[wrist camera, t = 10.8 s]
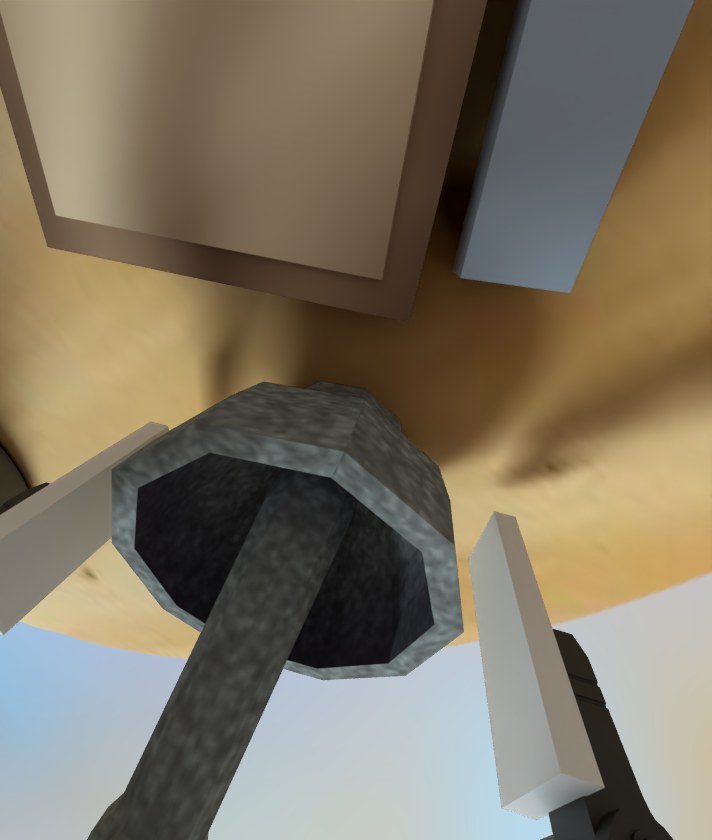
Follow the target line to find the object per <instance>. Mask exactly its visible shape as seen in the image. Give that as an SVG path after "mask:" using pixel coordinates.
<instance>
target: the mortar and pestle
mask: <svg viewBox="0 0 712 840" xmlns="http://www.w3.org/2000/svg"><path fill="white" fill-rule="evenodd" d="M112 544H113V545H114V546H115V548H116V549H117V550H118V551H119V553H120V554H121V555H122V557H123V558H124V559H125V560H126V562H127V563H128V564H129V566H130V567H131V568H132V569H133V571H134V572H135V573H136V575H137V576H138V577H139V578H140V580H141V581H142V582H143V584H144V585H145V586H146V587H147V589H148V590H149V591H150V593H151V594H152V595H153V597H154V598H155V599H156V600H157V602H158V603H159V604H160V606H161V607H162V608H163V609H164V610H166V611H167V612H169V613H171V614H172V615H174V616H175V617H177V618H179V619H180V620H182V621H183V622H185V623H187V624H188V625H190V626H191V627H193V628H195V629H196V630H198V631H199V632H201V633H200V636H199V638H198V640H197V642H196V644H195V646H194V648H193V650H192V652H191V654H190V656H189V658H188V661H187V663H186V665H185V667H184V669H183V671H182V673H181V675H180V677H179V679H178V682H177V684H176V686H175V688H174V690H173V692H172V694H171V696H170V698H169V700H168V702H167V705H166V706H165V709H164V711H163V713H162V715H161V717H160V719H159V721H158V723H157V725H156V727H155V729H154V732H153V734H152V736H151V738H150V740H149V742H148V744H147V746H146V748H145V750H144V752H143V755H142V757H141V759H140V761H139V763H138V765H137V767H136V769H135V771H134V773H133V776H132V777H131V779H130V782H129V784H128V786H127V788H126V790H125V792H124V793H123V794H122V795H121V796H120V797H119V798H118V799H117V800H116V801H114V802H113V803H112V804H111V805H110V806H109V807H108V808H107V810H106V811H105V813H104V814H103V816H102V817H101V818H100V820H99V821H98V823H97V824H96V826H95V827H94V829H93V830H92V831H91V833H90V835H89V837H88V839H87V840H208V831H209V829H210V827H211V825H212V823H213V820H214V818H215V816H216V814H217V812H218V809H219V807H220V805H221V803H222V800H223V799H224V796H225V794H226V792H227V790H228V788H229V785H230V783H231V781H232V779H233V777H234V775H235V772H236V770H237V768H238V766H239V764H240V761H241V759H242V757H243V755H244V753H245V751H246V748H247V746H248V744H249V742H250V740H251V737H252V735H253V733H254V731H255V729H256V726H257V724H258V722H259V720H260V718H261V716H262V713H263V711H264V709H265V707H266V705H267V702H268V700H269V698H270V696H271V694H272V691H273V689H274V687H275V685H276V683H277V681H278V679H279V676H280V674H281V672H282V670H283V669H286V670H289V671H293V672H296V673H300V674H304V675H307V676H311V677H314V678H317V679H321V680H332V679H351V678H371V677H390V676H406V675H407V674H408V673H410V672H411V671H412V670H414V669H415V668H416V667H418V666H419V665H420V664H422V663H423V662H424V661H426V660H427V659H428V658H430V657H431V656H432V655H434V654H435V653H436V652H438V651H439V650H440V649H442V648H443V647H444V646H446V645H447V644H449V643H450V642H451V641H453V640H454V639H455V638H457V637H458V636H459V635H461V634H462V633H463V632H464V629H463V620H462V610H461V600H460V590H459V580H458V570H457V561H456V551H455V542H454V533H453V523H452V514H451V504H450V499H449V496H448V493H447V490H446V487H445V484H444V481H443V478H442V475H441V472H440V469H439V466H438V465H437V464H435V463H434V462H433V461H432V460H431V459H430V458H429V457H428V456H427V455H426V454H424V453H423V452H422V451H421V450H420V449H419V448H418V447H417V446H416V445H415V444H413V443H412V442H411V441H410V440H409V439H408V438H407V437H406V436H405V435H404V434H402V431H401V425H400V420H399V419H398V418H397V417H396V416H395V415H394V414H393V413H391V412H390V411H389V410H388V409H387V408H386V407H385V406H384V405H383V404H382V403H381V402H380V401H378V400H377V399H376V398H375V397H374V396H373V395H372V394H371V393H370V392H369V391H368V390H367V389H364V388H358V387H352V386H346V385H340V384H334V383H328V382H322V381H319V382H317V383H315V384H313V385H311V386H309V387H307V388H305V389H303V388H297V387H291V386H286V385H280V384H274V383H268V382H261V383H259V384H257V385H254V386H252V387H250V388H248V389H245V390H243V391H241V392H238V393H236V394H234V395H231V396H230V397H228V398H226V399H224V400H223V401H221V402H219V403H217V404H216V405H214V406H212V407H210V408H209V409H207V410H205V411H203V412H202V413H200V414H198V415H196V416H195V417H193V418H191V419H189V420H188V421H186V422H184V423H182V424H181V425H179V426H177V427H175V428H174V429H172V430H170V431H168V432H167V433H165V434H163V435H161V436H160V437H158V438H156V439H154V440H153V441H151V442H150V443H148V444H147V445H146V446H144V447H143V448H141V449H140V450H138V451H137V452H136V453H134V454H133V455H131V456H130V457H129V458H127V459H126V460H124V461H123V462H121V463H120V464H119V465H117V466H116V467H114V468H113V469H112Z"/></svg>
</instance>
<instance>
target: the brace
mask: <svg viewBox="0 0 712 840" xmlns="http://www.w3.org/2000/svg"><path fill="white" fill-rule="evenodd" d="M694 1H695V0H517V3H516V7H515V11H514V15H513V19H512V23H511V28H510V32H509V36H508V40H507V44H506V48H505V52H504V57H503V61H502V65H501V69H500V73H499V77H498V82H497V86H496V90H495V94H494V98H493V102H492V106H491V111H490V115H489V119H488V123H487V127H486V131H485V135H484V140H483V144H482V148H481V152H480V156H479V160H478V165H477V169H476V173H475V177H474V181H473V185H472V189H471V194H470V198H469V202H468V206H467V210H466V214H465V219H464V223H463V227H462V231H461V235H460V239H459V243H458V248H457V252H456V256H455V260H454V264H453V268H452V272H454V273H455V274H456V275H457V276H459V277H460V278H464V279H471V280H478V281H486V282H493V283H500V284H507V285H514V286H522V287H529V288H536V289H543V290H550V291H557V292H565V293H570V292H571V290H572V288H573V285H574V283H575V281H576V278H577V276H578V273H579V271H580V269H581V266H582V264H583V262H584V259H585V257H586V255H587V252H588V250H589V248H590V245H591V243H592V241H593V238H594V236H595V233H596V231H597V229H598V226H599V224H600V222H601V219H602V217H603V215H604V212H605V210H606V208H607V205H608V203H609V201H610V198H611V196H612V194H613V191H614V189H615V186H616V184H617V182H618V179H619V177H620V175H621V172H622V170H623V168H624V165H625V163H626V161H627V158H628V156H629V154H630V151H631V149H632V146H633V144H634V142H635V139H636V137H637V135H638V132H639V130H640V128H641V125H642V123H643V121H644V118H645V116H646V114H647V111H648V109H649V106H650V104H651V102H652V99H653V97H654V95H655V92H656V90H657V88H658V85H659V83H660V81H661V78H662V76H663V74H664V71H665V69H666V67H667V64H668V62H669V59H670V57H671V55H672V52H673V50H674V48H675V45H676V43H677V41H678V38H679V36H680V34H681V31H682V29H683V27H684V24H685V22H686V19H687V17H688V15H689V12H690V10H691V8H692V5H693V3H694Z"/></svg>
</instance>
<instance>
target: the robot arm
mask: <svg viewBox="0 0 712 840" xmlns="http://www.w3.org/2000/svg"><path fill="white" fill-rule="evenodd" d="M168 431H169V429H168V426H165V425H162V424H158V423H154V422H149V423H148V424H146V425H145V426H143V427H141V428H140V429H138V430H137V431H135V432H133V433H132V434H130V435H128V436H127V437H125V438H124V439H122V440H120V441H119V442H117V443H116V444H114V445H112V446H111V447H109V448H107V449H106V450H104V451H103V452H101V453H99V454H98V455H96V456H95V457H93V458H91V459H90V460H88V461H86V462H85V463H83V464H82V465H80V466H78V467H77V468H75V469H74V470H72V471H70V472H69V473H67V474H66V475H64V476H62V477H61V478H59V479H57V480H56V481H54V482H53V483H51V484H50V483H44V484H41V485H38V486H36V487H33V488H31V489H27V487H26V484H25V482H24V480H23V479H22V477H21V475H20V473H19V472H18V470H17V468H16V467H15V465H14V464H13V462H12V461H11V460H10V458H9V457H8V456H7V454H6V453H5V452H4V450H3V449H2V448H1V447H0V634H2V635H4V634H5V633H6V632H7V631H8V630H10V628H12V627H13V626H14V625H15V624H16V623H17V622H18V621H20V620H21V619H22V618H23V617H24V616H25V615H26V614H27V613H28V612H29V611H31V610H32V609H33V608H34V607H35V606H36V605H37V604H38V603H39V602H40V601H42V600H43V599H44V598H45V597H46V596H47V595H48V594H49V593H50V592H52V591H53V590H54V589H55V588H56V587H57V586H58V585H59V584H60V583H61V582H63V581H64V580H65V579H66V578H67V577H68V576H69V575H70V574H71V573H72V572H74V571H75V570H76V569H77V568H78V567H79V566H80V565H81V564H82V563H83V562H85V561H86V560H87V559H88V558H89V557H90V556H91V555H92V554H93V553H94V552H96V551H97V550H98V549H99V548H100V547H101V546H102V545H103V544H104V543H105V542H107V541H108V540H109V539H110V538H111V537H112V469H113V468H114V467H116V466H117V465H119V464H120V463H121V462H123V461H124V460H126V459H127V458H129V457H130V456H131V455H133V454H134V453H136V452H137V451H138V450H140V449H141V448H143V447H144V446H146V445H147V444H148V443H150V442H151V441H153V440H154V439H156V438H158V437H160V436H161V435H163V434H165V433H167V432H168ZM469 566H470V574H471V582H472V589H473V597H474V604H475V612H476V619H477V627H478V634H479V642H480V649H481V657H482V664H483V672H484V679H485V687H486V694H487V702H488V709H489V716H490V724H491V732H492V739H493V747H494V754H495V762H496V769H497V777H498V785H499V792H500V799H501V807H502V808H503V809H505V810H508V811H511V812H514V813H517V814H520V815H523V816H526V817H528V818H531V819H534V820H538V819H540V818H542V817H544V816H546V815H548V814H549V817H550V822H551V827H552V832H553V835H551V836H548V837H546V838H543V839H541V840H673V839H672V837H671V836H670V835H669V834H668V832H667V831H666V830H665V828H664V827H662V826H661V825H660V824H659V823H658V822H657V821H656V820H655V819H654V817H653V815H652V814H651V813H650V810H649V808H648V806H647V804H646V802H645V800H644V798H643V796H642V793H641V791H640V789H639V786H638V784H637V781H636V778H635V776H634V773H633V771H632V768H631V766H630V763H629V760H628V758H627V755H626V753H625V750H624V748H623V745H622V743H621V740H620V738H619V735H618V733H617V730H616V728H615V725H614V722H613V720H612V717H611V715H610V712H609V710H608V709H607V708H606V706H605V705H606V702H605V700H604V697H603V694H602V692H601V690H600V687H598V686H597V679H596V677H595V674H594V672H593V669H592V667H591V664H590V662H589V659H588V657H587V656H586V654H585V653H584V651H583V650H582V648H581V647H580V645H579V644H578V642H577V641H576V639H575V638H574V637H573V635H572V634H569V633H566V632H562V631H559V630H555V629H552V626H551V623H550V620H549V617H548V614H547V611H546V608H545V605H544V602H543V599H542V596H541V593H540V590H539V587H538V584H537V581H536V578H535V575H534V572H533V569H532V566H531V563H530V560H529V557H528V554H527V551H526V547H525V544H524V541H523V538H522V535H521V532H520V529H519V526H518V523H517V520H516V517H514V516H510V515H507V514H503V513H499V512H495V511H494V512H493V514H492V516H491V518H490V520H489V522H488V523H487V525H486V527H485V529H484V531H483V533H482V535H481V536H480V538H479V540H478V542H477V544H476V546H475V548H474V549H473V551H472V553H471V555H470V557H469Z"/></svg>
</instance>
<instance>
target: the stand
mask: <svg viewBox="0 0 712 840" xmlns="http://www.w3.org/2000/svg"><path fill="white" fill-rule="evenodd" d="M486 4H487V0H0V87H1V90H2V94H3V97H4V100H5V104H6V107H7V111H8V114H9V117H10V121H11V124H12V128H13V131H14V134H15V138H16V141H17V144H18V148H19V151H20V155H21V158H22V161H23V165H24V168H25V172H26V175H27V178H28V182H29V185H30V188H31V192H32V195H33V199H34V202H35V205H36V209H37V212H38V215H39V219H40V222H41V226H42V229H43V232H44V236H45V239H46V243H47V246H48V247H50V248H55V249H60V250H65V251H70V252H74V253H79V254H84V255H89V256H93V257H98V258H103V259H108V260H113V261H117V262H122V263H127V264H132V265H136V266H141V267H146V268H151V269H156V270H160V271H165V272H170V273H175V274H179V275H184V276H189V277H194V278H199V279H203V280H208V281H213V282H218V283H223V284H227V285H232V286H237V287H242V288H246V289H251V290H256V291H261V292H266V293H270V294H275V295H280V296H285V297H289V298H294V299H299V300H304V301H309V302H313V303H318V304H323V305H328V306H332V307H337V308H342V309H347V310H352V311H356V312H361V313H366V314H371V315H376V316H380V317H385V318H390V319H395V320H399V321H404V322H409V321H410V317H411V313H412V309H413V304H414V300H415V296H416V292H417V288H418V284H419V280H420V276H421V271H422V267H423V263H424V259H425V255H426V251H427V247H428V243H429V238H430V234H431V230H432V226H433V222H434V218H435V214H436V210H437V206H438V201H439V197H440V193H441V189H442V185H443V181H444V177H445V173H446V168H447V164H448V160H449V156H450V152H451V148H452V144H453V140H454V136H455V131H456V127H457V123H458V119H459V115H460V111H461V107H462V103H463V98H464V94H465V90H466V86H467V82H468V78H469V74H470V70H471V65H472V61H473V57H474V53H475V49H476V45H477V41H478V37H479V33H480V28H481V24H482V20H483V16H484V12H485V8H486Z"/></svg>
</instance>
